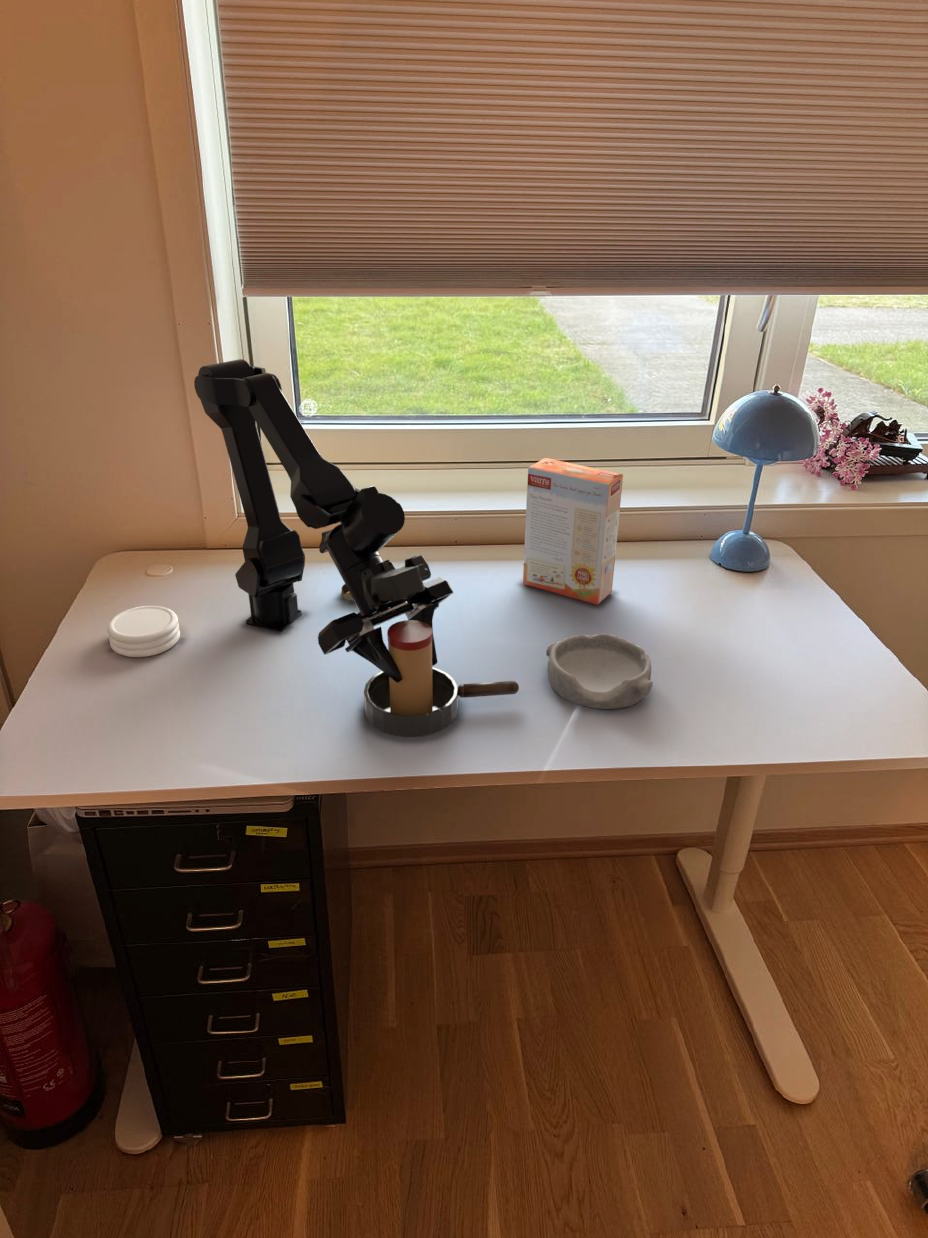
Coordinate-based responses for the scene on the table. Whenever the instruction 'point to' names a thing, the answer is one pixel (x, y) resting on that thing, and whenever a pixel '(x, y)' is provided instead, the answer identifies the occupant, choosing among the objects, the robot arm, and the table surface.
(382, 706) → the pan
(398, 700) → the cracker tube
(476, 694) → the pan handle
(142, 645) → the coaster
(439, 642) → the table surface
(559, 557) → the cracker box
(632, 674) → the dish
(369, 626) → the robot arm
